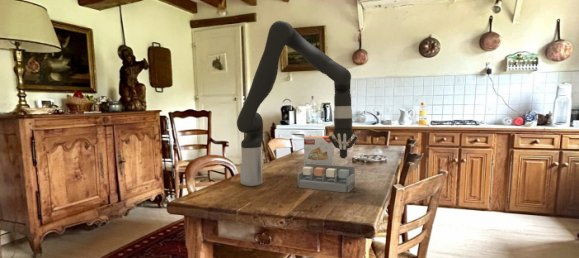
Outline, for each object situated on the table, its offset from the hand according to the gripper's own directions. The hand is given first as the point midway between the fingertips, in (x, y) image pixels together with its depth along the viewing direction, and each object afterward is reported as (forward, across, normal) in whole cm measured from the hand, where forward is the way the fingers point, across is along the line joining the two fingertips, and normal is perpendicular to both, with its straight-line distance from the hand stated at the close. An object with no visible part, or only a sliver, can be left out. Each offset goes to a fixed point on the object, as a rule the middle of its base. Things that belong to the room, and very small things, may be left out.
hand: (343, 158), depth 138 cm
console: (+13, -8, +1) cm, 16 cm away
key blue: (+8, 0, 0) cm, 8 cm away
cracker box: (+14, -17, +14) cm, 26 cm away
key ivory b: (+8, -6, 0) cm, 10 cm away
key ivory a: (+8, -17, 0) cm, 19 cm away
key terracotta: (+8, -11, 0) cm, 14 cm away
